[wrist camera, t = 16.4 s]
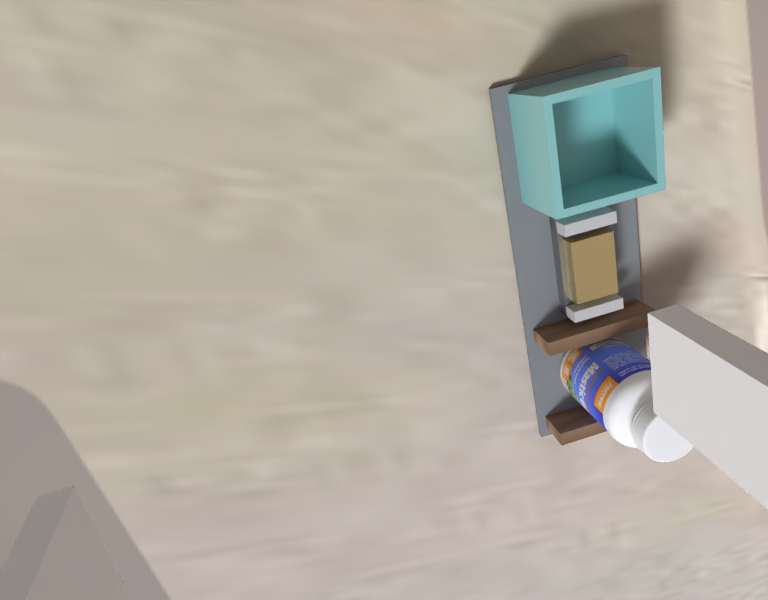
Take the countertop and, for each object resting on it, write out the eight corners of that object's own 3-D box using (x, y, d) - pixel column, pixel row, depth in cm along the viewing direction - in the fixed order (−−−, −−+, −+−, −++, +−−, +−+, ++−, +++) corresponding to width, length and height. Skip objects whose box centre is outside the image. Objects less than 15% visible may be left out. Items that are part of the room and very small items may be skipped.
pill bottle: (556, 338, 45) (632, 405, 36) (625, 323, 46) (716, 385, 37) (558, 403, 47) (630, 481, 38) (624, 388, 48) (710, 461, 39)
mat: (488, 88, 38) (491, 89, 38) (622, 55, 39) (626, 55, 39) (539, 434, 48) (541, 437, 48) (645, 400, 49) (649, 403, 49)
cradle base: (549, 217, 42) (564, 225, 40) (598, 204, 42) (616, 210, 40) (560, 311, 44) (575, 322, 42) (606, 297, 45) (623, 308, 43)
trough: (532, 329, 44) (548, 343, 42) (635, 298, 45) (656, 310, 43) (546, 427, 48) (561, 445, 45) (642, 397, 48) (661, 413, 46)
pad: (562, 238, 41) (570, 243, 40) (603, 226, 42) (613, 231, 40) (568, 298, 43) (577, 304, 42) (609, 286, 43) (618, 292, 42)
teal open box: (507, 93, 38) (542, 97, 34) (612, 67, 39) (660, 66, 34) (522, 202, 41) (556, 219, 36) (620, 176, 42) (665, 189, 37)
